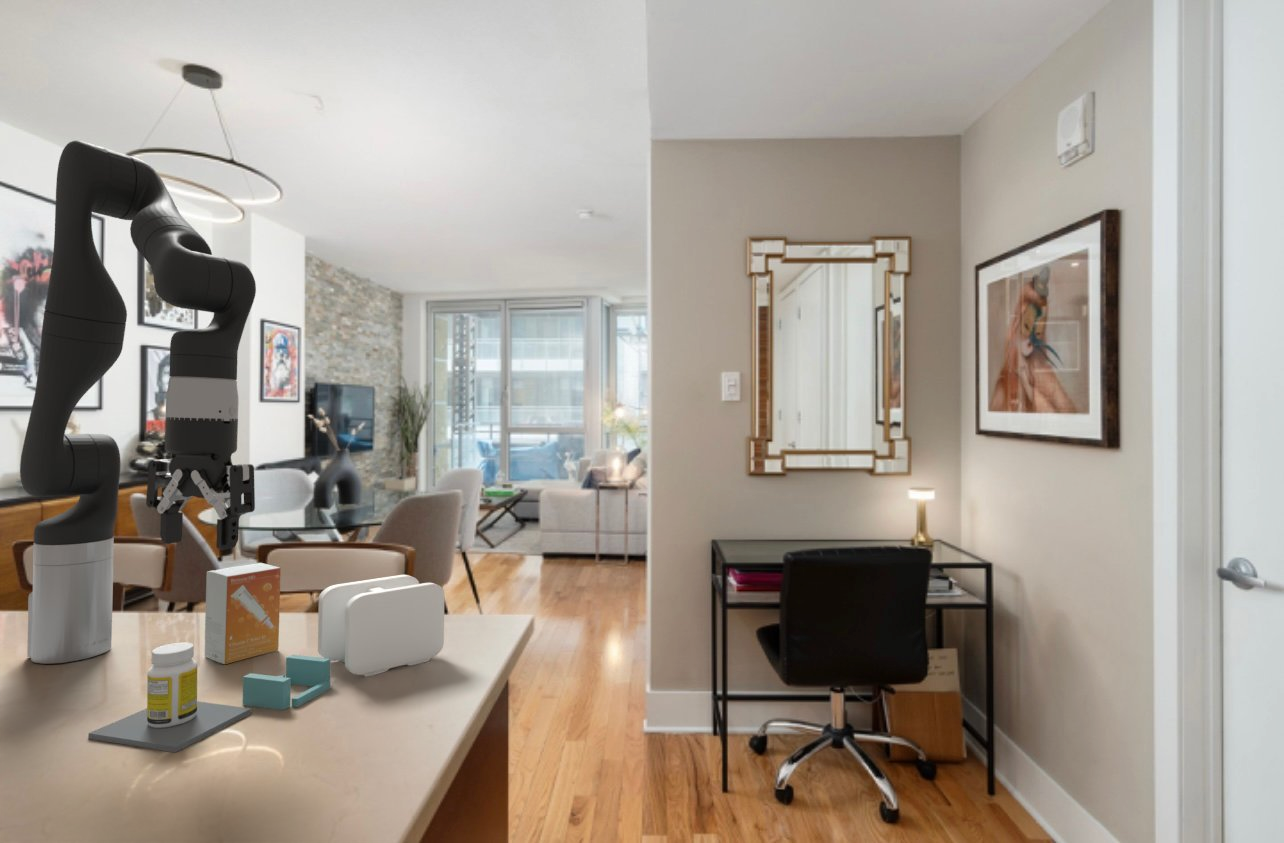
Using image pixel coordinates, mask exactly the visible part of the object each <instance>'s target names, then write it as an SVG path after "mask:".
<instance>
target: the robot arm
mask: <svg viewBox="0 0 1284 843" xmlns="http://www.w3.org/2000/svg"><path fill="white" fill-rule="evenodd" d="M59 157H60V158H59V162H58V166H57V172H56V186H55V209H54V210H55V212H54V215H55V216H54V237H53V238H54V240H53V243H54V244H53V253H52V261H51V267H50V273H49V274H50V275H49V280H48V288H47V292H46V293H47V295H46V300H45V305H44V312H43V319H42V326H41V337H40V347H39V348H40V350H39V358H38V369H37V370H38V371H37V377H36V378H37V379H36V385H35V390H34V391H35V392H34V396H33V401H32V404H31V409H30V414H29V418H28V423H27V427H26V431H25V436H24V439H23V446H22V450H21V455H20V462H19V463H20V464H19V477H20V483H21V486H22V488H23V490H24V491H25V493H27V494H28V495H29V496H32V497H39V498H40V497H47V498H48V497H61V496H62V497H63V496H76V495H77V496H79V499H78V500H77V502H76V504H74V505H73V506H71V507H70V508H69V509H67V510H66V511H64V512H62V513H59V514H57V515H54V516H52V517H49V518H46V519H44V520H41V521H39V522H38V523H36V525H35V526H34V529H33V550H32V552H33V554H32V555H33V556H32V559H33V560H32V562H33V563H32V564H33V566H32V569H33V570H32V592H29V594H28V599H27V600H28V604H27V605H28V610H27V613H28V614H27V648H26V649H27V655H26V656H27V658H30V661H31V662H32V663H35V664H41V665H42V664H45V665H46V664H62V663H69V662H76V661H80V660H81V661H82V660H85V659H89V658H92V657H96V656H99V655H103V654H104V653H106V652H108V651H110V650H111V649H112V635H113V634H112V633H113V630H112V629H113V626H112V625H113V594H114V591H113V587H114V533H115V532H114V531H115V524H116V521H117V517H118V516H117V515H118V500H119V488H120V487H119V486H120V478H121V476H120V475H121V464H122V463H121V453H120V449H119V446H118V444H117V442H116V440H115V439H114V438H113V437H112V436H110V435H108V434H102V433H66V430H67V427H68V425H69V424H68V423H69V420H70V418H71V415H72V413H73V411H74V409H75V408H76V406H77V405H78V403H79V401H80V400H81V399H82V398H83V397H84V396H85V395H86V393H88V391H89V390H90V389H91V388H92V387H93V386H94V385H95V384H96V383H97V382H98V381H100V379H101V378H102V377H104V375H106V374H107V372H108V371H109V370H110V369H111V368H112V367H113V366H114V364H115V363H117V361H118V359H119V357H120V356H121V354H122V350H123V348H124V347H123V346H124V340H125V339H124V338H125V333H126V325H127V317H128V313H127V312H128V311H127V307H126V304H125V301H124V299H123V296H122V295H121V292H120V290H119V289H118V287H117V286H116V283H115V282H114V281H113V278H112V277H111V275H110V274H109V272H108V270H107V269H106V267H105V265H104V262H102V259H101V257H100V255H99V252H98V250H97V248H96V245H95V240H94V236H93V228H92V226H93V225H92V215H93V214H92V213H94V214H97V215H103V216H106V217H112V218H116V219H119V220H123V221H131V224H130V227H129V228H130V230H129V232H130V238H131V241H132V243H133V245H134V247H135V248H136V250H137V251H138V253H139V254H140V255H141V256H142V257H143V258H144V260H145V261H146V262H147V263H148V264H149V266H150V268H151V271H152V275H153V285H154V290H155V293H156V295H157V296H158V297H159V298H160V299H162V301H164V302H166V303H167V304H169V305H171V306H172V307H173V306H174V307H176V308H181V309H185V310H186V309H187V310H195V311H199V312H200V311H201V312H207V313H213V317H212V320H211V321H210V323H209V324H208V326H206V327H204V328H188V329H187V328H186V329H180V330H177V331H176V332H174V333H173V334H172V336H171V339H170V346H169V355H170V356H169V374H168V376H169V378H168V385H167V390H166V398H165V419H164V422H165V424H164V425H165V426H164V428H165V429H164V451H165V453H168V454H170V455H171V458H168V459H167V458H166V459H151V460H150V461H149V463H148V475H147V488H146V498H145V500H146V501H145V504H146V507H148V508H154V509H156V510H157V513H159V514H160V524H159V525H160V527H159V528H160V529H159V530H160V531H159V534H160V539H161V540H160V541H161V543H162V544H167V545H170V544H177V543H180V542H182V540H183V522H184V521H183V520H184V519H183V515H184V513H183V512H182V510H183V508H184V507H185V506H186V504H187V502H188V501H189V500H191V499H193V498H194V497H196V498H198V499H205V501H206V503H207V504H208V505H211V506H213V509H214V511H215V512H216V513H217V515H218V517H219V518H217V519H216V522H217V523H216V549H217V550H222V551H223V550H228V549H233V548H235V547H236V546H237V544H238V541H239V534H240V533H239V530H240V529H239V528H240V518H241V516H243V515H245V514H248V513H253V512H254V511H255V508H256V503H255V502H256V500H255V499H256V498H255V495H256V494H255V467H254V465H253V464H252V463H247V464H246V463H242V464H241V463H240V464H233V462H232V456H233V454H235V453H236V452H237V451H238V450H237V449H238V430H239V429H238V426H239V392H238V391H239V390H238V382H237V379H238V353H239V352H238V351H239V347H240V344H241V339H242V335H243V333H244V330H245V327H246V323H247V321H248V318H249V315H250V313H251V310H252V307H253V304H254V301H255V298H256V293H257V290H256V289H257V287H256V286H257V284H256V280H255V277H254V275H253V273H252V271H251V269H250V268H249V267H248V266H247V265H246V264H244V263H243V262H241V261H239V260H236V259H231V258H226V257H221V256H218V255H217V256H216V255H213V252H212V250H211V247H210V245H209V244H208V243H207V241H206V240H205V238H203V236H201V235H200V234H199V233H198V231H197V230H196V229H195V228H194V227H193V226H192V225H191V224H189V222H188V221H186V220H185V218H184V217H183V216H182V214H181V213H180V212H179V210H178V208H177V205H176V204H175V201H174V200H173V198H172V195H171V194H170V192H169V190H168V189H167V187H166V185H165V182H164V181H163V179H162V178H161V176H160V175H159V173H158V171H157V170H155V168H154V167H153V166H151V165H150V164H149V163H147V162H145V161H143V160H142V159H140V158H137V157H134V156H131V155H128V154H124V153H122V152H118V151H115V150H112V149H108V148H106V147H103V146H99V145H96V144H93V143H89V142H86V141H82V140H72V141H70V142H68V143H67V144H66V145H65V146H64V148H63V149H62V152H61V155H60V156H59ZM160 488H161V495H160V496H158V494H159V489H160ZM242 495H243V503H242ZM180 511H181V512H180Z"/></svg>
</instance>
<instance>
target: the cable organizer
mask: <svg viewBox="0 0 1284 843" xmlns="http://www.w3.org/2000/svg"><path fill="white" fill-rule="evenodd" d="M317 620H318V622H317V624H318V626H317V652H318V655H320V657H321V658H328V659H330V662H337V661H338V662H341V663H344V666H345V668H346V669H347V671H349V672H350V673H352V674H354V675H357V676H364V677H370V676H375V675H378V674H382V673H385V672H387V671H389V669H393V668H396V667H401V666H403V665H404V666H405V665H407V666H415V665H419V664H423V663H427V662H429V661H430V660H431V659H432V658H434V657H436V656H438V654H440V653H441V651H442V650H443V648H444V644H445V590H444V589H443V587H442V586H441V585H439V584H436V583H433V582H423V583H420V581H419V580H418V579H417V578H416V577H413V576H411V575H409V574H397V575H391V576H384V577H378V578H377V577H376V578H371V579H365V580H359V581H350V582H344V583H338V584H332V585H330V586H328V587H326V588H324V589H323V590H322V591H321V593H320V594H319V596H318V617H317Z"/></svg>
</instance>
